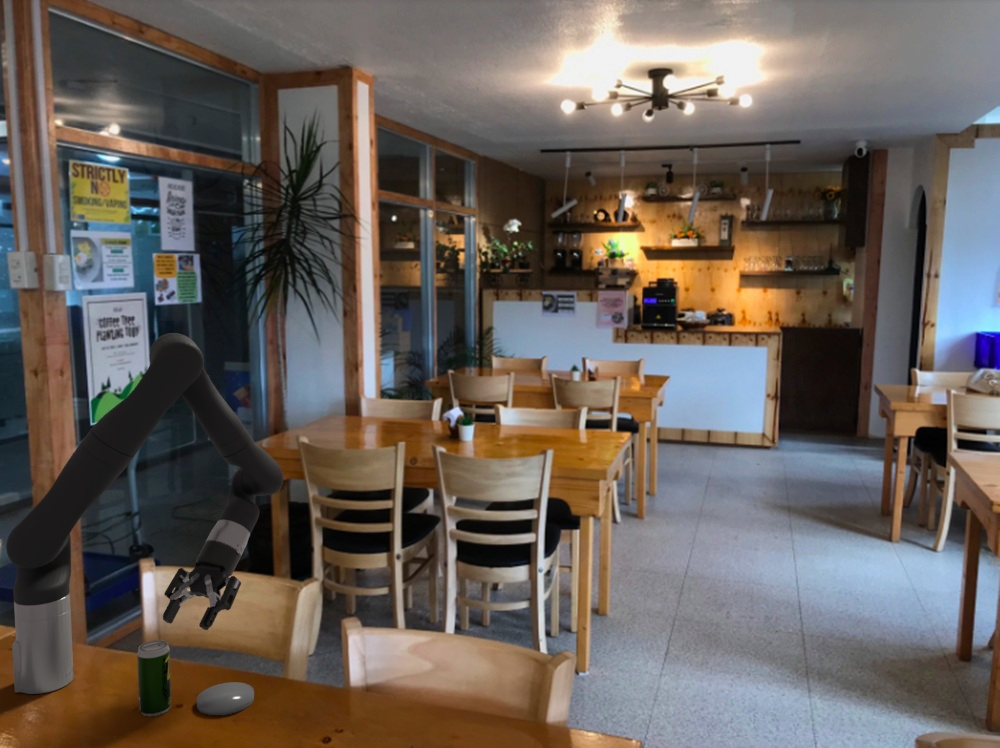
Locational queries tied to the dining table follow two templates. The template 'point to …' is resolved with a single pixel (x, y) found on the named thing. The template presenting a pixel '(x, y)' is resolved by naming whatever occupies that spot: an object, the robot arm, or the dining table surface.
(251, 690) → the smooth grey oval object
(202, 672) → the dining table surface
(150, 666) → the beer can
